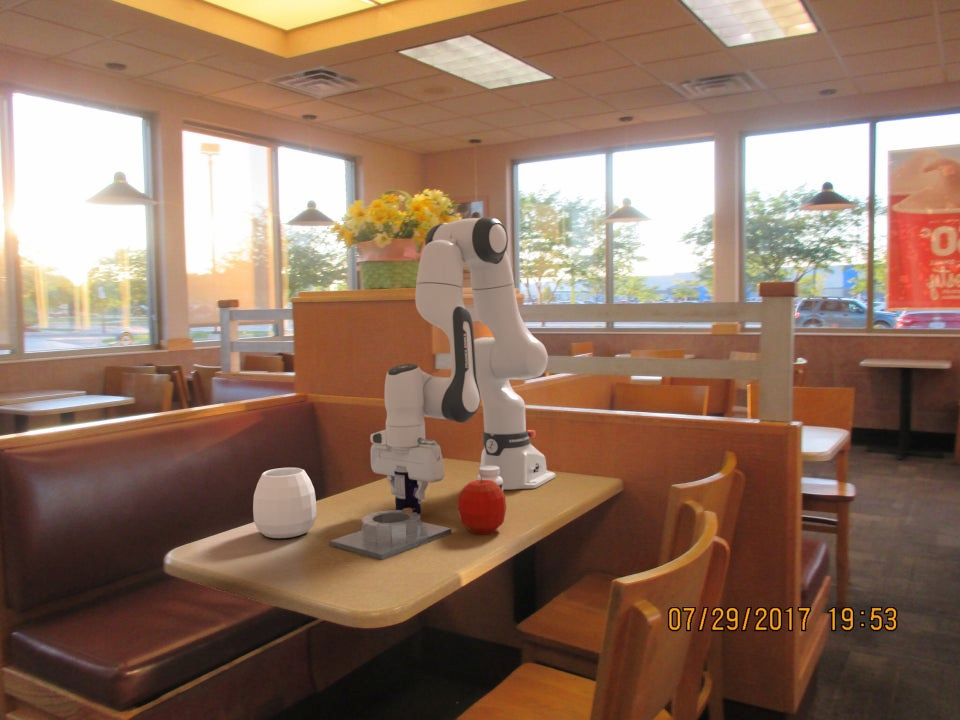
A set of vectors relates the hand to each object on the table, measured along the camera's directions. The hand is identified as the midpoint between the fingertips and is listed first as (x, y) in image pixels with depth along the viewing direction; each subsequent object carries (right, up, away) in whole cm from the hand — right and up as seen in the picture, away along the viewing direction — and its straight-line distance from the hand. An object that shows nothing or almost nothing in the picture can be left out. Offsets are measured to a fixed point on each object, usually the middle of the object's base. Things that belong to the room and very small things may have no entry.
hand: (407, 496), depth 172 cm
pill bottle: (+19, -4, -1) cm, 19 cm away
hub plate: (-2, -6, -16) cm, 17 cm away
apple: (+17, -5, -12) cm, 22 cm away
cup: (-25, -6, -10) cm, 28 cm away
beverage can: (0, -5, 0) cm, 5 cm away
